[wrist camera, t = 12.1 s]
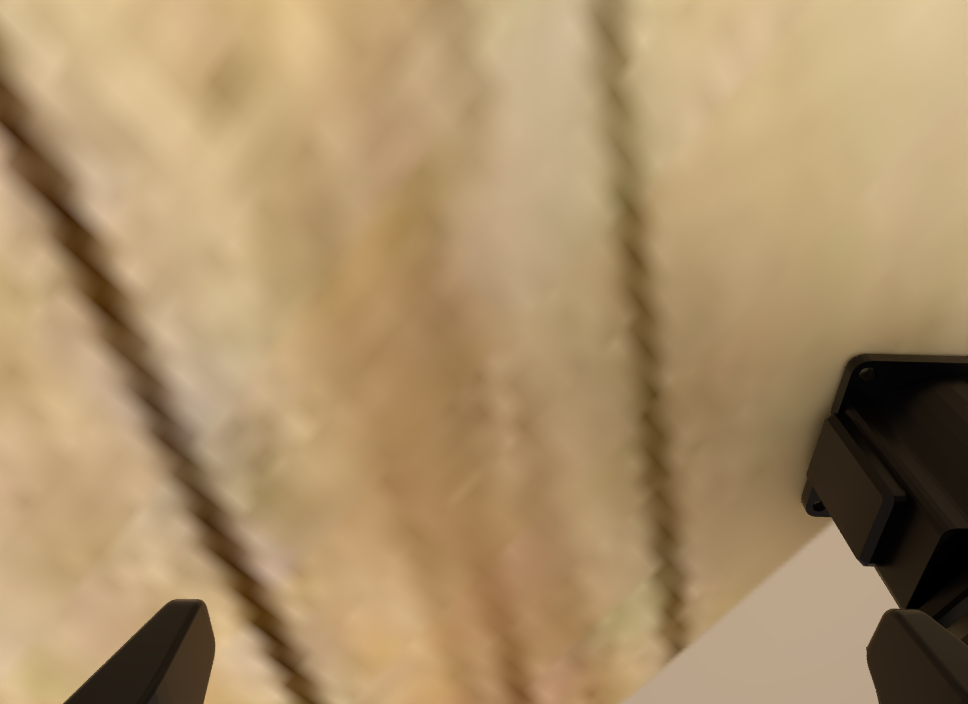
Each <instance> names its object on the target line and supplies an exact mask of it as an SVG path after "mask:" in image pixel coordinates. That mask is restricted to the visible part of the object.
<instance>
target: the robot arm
mask: <svg viewBox="0 0 968 704" xmlns="http://www.w3.org/2000/svg"><path fill="white" fill-rule="evenodd" d="M865 368H869V369H868V371H867V372H865V373H864V374H859V373H860V372H861V371H862V370H863V369H865ZM807 477H808V480H807V483H806V486H805V489H804V492H803V495H802V498H801V503H802V505H803V506H804V508H805V510H806V512H807V513H808V514H809V515H811V516H815V517H832V519H833V521H834V522H835V524H836V526H837V527H838V529H839V530H840V532H841V534H842V535H843V537H844V539H845V540H846V542H847V544H848V545H849V547H850V549H851V550H852V552H853V554H854V555H855V557H856V558H857V560H858V561H859V562H860V563H861V564H862V565H863V566H874V567H875V569H876V571H877V572H878V574H879V576H880V577H881V579H882V580H883V582H884V584H885V585H886V587H887V588H888V590H889V592H890V593H891V595H892V596H893V598H894V600H895V601H896V603H897V605H898V606H899V608H900V609H889V610H888V611H886V612H885V613H884V614H883V616H882V618H881V620H880V622H879V624H878V626H877V628H876V630H875V632H874V634H873V636H872V638H871V640H870V643H869V645H868V646H867V647H866V650H867V663H868V667H869V670H870V673H871V676H872V680H873V682H874V685H875V689H876V692H877V696H878V701H879V704H968V357H958V356H918V355H878V354H864V355H859V356H857V357H854V358H853V359H852V360H851V361H849V362H848V364H847V366H846V368H845V371H844V374H843V377H842V380H841V383H840V385H839V388H838V391H837V394H836V397H835V400H834V403H833V406H832V409H831V412H830V414H829V415H828V417H827V418H826V419H825V421H824V424H823V427H822V430H821V433H820V436H819V439H818V442H817V445H816V448H815V451H814V454H813V457H812V460H811V463H810V466H809V469H808V471H807ZM818 501H820V502H819V503H816V502H818ZM814 503H816V504H814ZM214 655H215V638H214V634H213V630H212V626H211V622H210V618H209V614H208V609H207V606H206V604H205V603H204V601H202V600H199V599H175V600H172V601H170V602H168V603H167V604H166V605H164V606H163V607H162V608H161V609H160V610H159V611H158V612H157V613H156V614H155V615H154V616H153V617H152V618H151V619H150V620H149V621H148V622H147V623H146V624H145V625H144V626H143V627H142V628H141V629H140V630H139V631H138V632H137V633H136V634H134V635H133V636H132V637H131V638H130V639H129V640H128V641H127V642H126V643H125V644H124V645H123V646H122V647H121V648H120V649H119V650H118V651H117V652H116V653H115V654H114V655H113V656H112V657H111V658H110V659H109V660H108V661H107V662H106V663H105V664H103V665H102V666H101V667H100V668H99V669H98V670H97V671H96V672H95V673H94V674H93V675H92V676H91V677H90V678H89V679H88V680H87V681H86V682H85V683H84V684H83V685H82V686H81V687H80V688H79V689H78V690H77V691H76V692H75V693H74V694H72V695H71V696H70V697H69V698H68V699H67V700H66V701H65V702H64V703H63V704H203V703H204V699H205V695H206V690H207V686H208V682H209V677H210V673H211V669H212V665H213V660H214Z"/></svg>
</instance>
